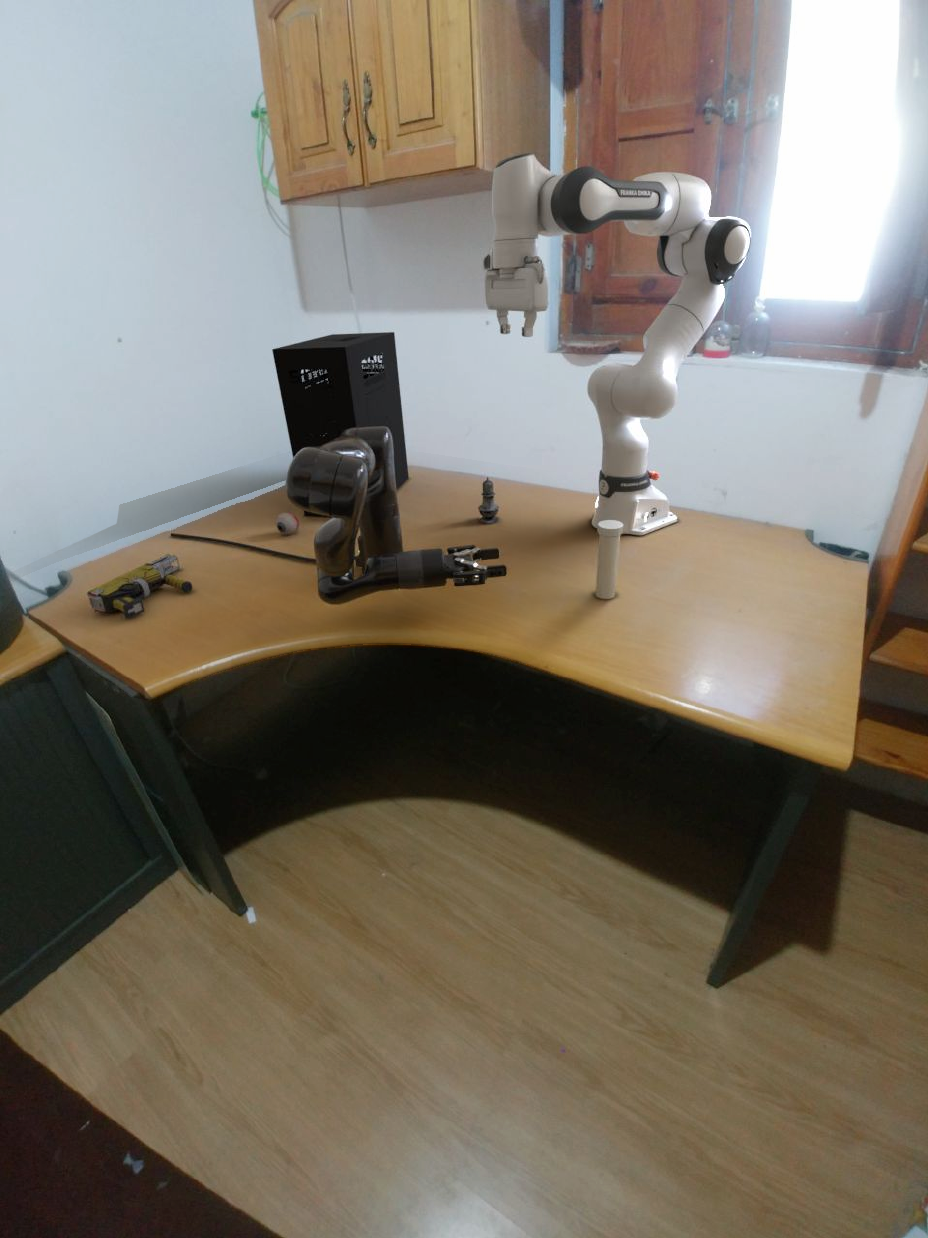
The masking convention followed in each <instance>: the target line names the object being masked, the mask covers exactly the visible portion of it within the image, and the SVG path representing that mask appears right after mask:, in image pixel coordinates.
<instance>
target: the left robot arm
mask: <svg viewBox="0 0 928 1238" xmlns="http://www.w3.org/2000/svg"><path fill="white" fill-rule="evenodd" d="M373 472H379V473H380V476H379V477H378V478H377V479H375V480H374V481H372V482H370V483H368V480H369V479H370V478H371V476H372V474H373ZM285 491H286V495H287V498H288V500H289V502H290V503H291V504H292V505H293V506H294V507H295V508H297V509H299V510H302V511H303V510H304V511H308V512H312V513H316V514H321V515H325V516H324V517H328V516H329V518H330V519H329V520H327V521H325V522H324V523H323V524H322V525H321V526H320V527H319V528H318V529H317V531H316V533H315V536H314V539H313V550H314V558H313V557H312V558H311V557H306V556H300V555H296V554H292V553H291V554H290V553H286V552H282V551H277V550H273V549H269V548H264V547H260V546H256V545H255V546H254V545H251V544H246V543H241V542H236V541H231V540H225V539H219V538H212V537H206V536H200V535H192V534H191V535H190V534H183V533H174V532H173V533H170V537H174V538H182V539H183V538H184V539H192V540H198V541H199V540H201V541H207V542H213V543H214V542H215V543H219V544H224V545H225V544H226V545H230V546H234V547H235V546H236V547H241V548H245V549H250V550H254V551H258V552H263V553H267V554H272V555H275V556H279V557H285V558H290V559H294V560H299V561H304V562H308V563H314V564H315V563H316V576H317V594H318V598H319V599H320V600H321V601H322V602H324V603H326V604H328V605H333V606H339V605H344V604H349V603H350V602H353V601H355V600H358V599H360V598H363V597H366V596H369V595H372V594H376V593H379V592H387V591H397V590H421V589H430V588H440V587H441V588H442V587H445V586H447V583H448V581H447V580H453V586H454V587H471V586H483V585H484V586H485V584H486V581H487V580H488V579H491V578H502V577H503V578H504V577H506V576H507V574H508V570H507V569H508V567H507V565H506V564H504V563H503V564H495V565H494V564H493V565H486V566H485V565H480V564H478V562H480V561H492V560H499V559H500V549H499V548H498V547H490V548H489V547H488V548H480V547H477V546H476V544H468V545H459V546H450V547H447V548H446V554H445V551H444V549H443V548H441V547H437V548H425V549H416V550H415V549H414V550H406V551H404V543H403V536H402V535H403V534H402V525H401V516H400V508H399V507H400V506H399V499H398V490H397V489H396V480H395V469H394V450H393V440H392V435H391V432H390V430H389V429H388V428H387V427H386V426H369V427H353V428H349V429H346V430H345V431H344V432H343V433H342V434H341V436H340V437H338V438H336V439H334V440H332V441H330V442H329V443H326V444H324V445H322V446H318V447H305V448H303V449H301V450H300V451H299V452H298V453H297V454H296V455H295V456H294V458H293V457H292V460H291V462H290V464H289V465H288V468H287V471H286V475H285ZM304 511H303V512H304ZM358 533H359V536H357V535H358ZM356 540H357V546H358V554H357V555H356ZM354 564H355V565H354ZM355 567H356V568H361V576H359V577H357V578H356V579H355Z"/></svg>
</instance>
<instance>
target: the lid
mask: <svg viewBox="0 0 928 1238" xmlns="http://www.w3.org/2000/svg"><path fill="white" fill-rule="evenodd" d="M596 530H597V531H596V533H597V534H598V535H602V536H607V537H615V536H619V535H620V536H622V535H623V534H622V533H623V523H621V522H619V521H615V520H604V521H601V522H599V523H598V528H596Z"/></svg>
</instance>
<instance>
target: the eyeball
mask: <svg viewBox="0 0 928 1238" xmlns="http://www.w3.org/2000/svg"><path fill="white" fill-rule="evenodd" d="M299 525H300V522H299V519H298V517H297V516H296V515H295V514H294V513H292V512H287V511H286V512H282V513H280V514H279V515H278V516H277V517H276V520H275V527H276V529H277V530H278V531H279V532H280V533H281V534H282V535H285V536H286V535H287V536H289V535H293V534H295V533H296V532H297V531H298V529H299Z"/></svg>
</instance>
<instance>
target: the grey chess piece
mask: <svg viewBox="0 0 928 1238" xmlns="http://www.w3.org/2000/svg"><path fill="white" fill-rule="evenodd" d="M495 495H496V493H495V492H494V482H493V481H492V480H490V478H489V477H486V480H484V481H483V482H482V492H481V497H482V503H481V504H480V505H479V506H478V507H477V510H478V512H479V514H480V516H482V517H480V518H479V522H480V523H483V524H494V523H497V522H498V521H499V517H498V516H497V515H498V513H499V510H500V505H498V504H496V503H495Z"/></svg>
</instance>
